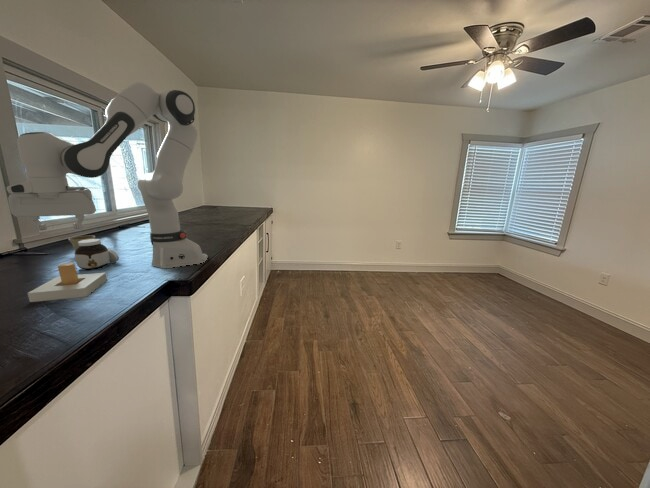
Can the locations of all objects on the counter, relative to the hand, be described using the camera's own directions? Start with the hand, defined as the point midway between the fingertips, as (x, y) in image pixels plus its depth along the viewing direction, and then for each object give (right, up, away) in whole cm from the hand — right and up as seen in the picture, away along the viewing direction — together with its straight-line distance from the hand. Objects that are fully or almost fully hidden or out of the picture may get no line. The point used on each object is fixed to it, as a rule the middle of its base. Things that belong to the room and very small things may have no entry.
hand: (61, 229), depth 85 cm
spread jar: (-8, -15, +24) cm, 30 cm away
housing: (+2, -21, +1) cm, 21 cm away
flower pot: (-28, -10, +39) cm, 49 cm away
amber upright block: (+3, -21, +1) cm, 21 cm away
